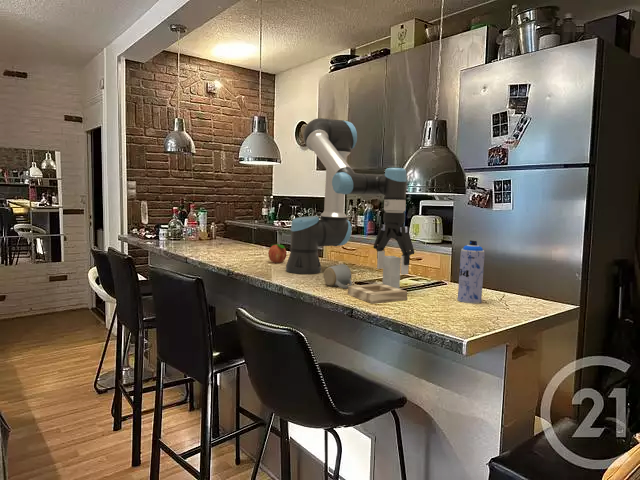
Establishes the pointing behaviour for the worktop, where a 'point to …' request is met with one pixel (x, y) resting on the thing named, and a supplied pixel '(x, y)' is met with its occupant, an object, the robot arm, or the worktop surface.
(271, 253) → the fruit
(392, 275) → the skincare box
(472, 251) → the aerosol can
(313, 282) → the worktop surface
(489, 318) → the worktop surface
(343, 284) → the ceramic mug
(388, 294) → the socket block
